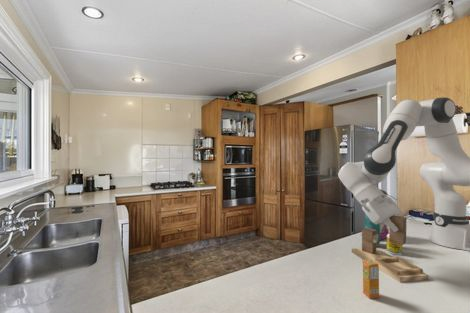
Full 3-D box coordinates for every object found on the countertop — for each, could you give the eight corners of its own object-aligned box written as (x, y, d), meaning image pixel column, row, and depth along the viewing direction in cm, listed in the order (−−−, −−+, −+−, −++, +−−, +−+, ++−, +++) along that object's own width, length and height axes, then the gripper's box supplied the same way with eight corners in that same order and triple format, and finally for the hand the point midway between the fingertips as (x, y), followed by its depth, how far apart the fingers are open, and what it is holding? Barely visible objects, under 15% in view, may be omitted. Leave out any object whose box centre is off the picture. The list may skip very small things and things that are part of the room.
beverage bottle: (376, 242, 111) (376, 200, 111) (383, 248, 105) (383, 203, 105) (361, 241, 112) (362, 200, 112) (368, 247, 105) (368, 203, 105)
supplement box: (361, 292, 70) (361, 259, 70) (372, 291, 71) (372, 259, 71) (368, 299, 67) (369, 264, 67) (379, 298, 67) (380, 264, 67)
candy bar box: (378, 241, 113) (379, 207, 113) (368, 238, 118) (368, 205, 118) (390, 237, 119) (390, 205, 119) (380, 234, 124) (380, 203, 123)
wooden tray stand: (374, 250, 102) (374, 226, 102) (428, 279, 78) (428, 248, 78) (351, 252, 100) (351, 227, 100) (399, 282, 76) (400, 250, 76)
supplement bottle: (400, 251, 101) (401, 229, 101) (402, 256, 96) (402, 233, 96) (386, 249, 104) (386, 227, 104) (387, 253, 99) (387, 230, 99)
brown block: (390, 238, 87) (391, 214, 87) (406, 242, 83) (406, 217, 83) (386, 241, 85) (387, 216, 85) (402, 245, 81) (402, 219, 81)
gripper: (365, 195, 83) (397, 230, 75) (387, 190, 95) (416, 219, 88) (352, 205, 86) (381, 240, 78) (374, 199, 99) (401, 228, 91)
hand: (399, 229), depth 83 cm, fingers closed on brown block, 4 cm apart
